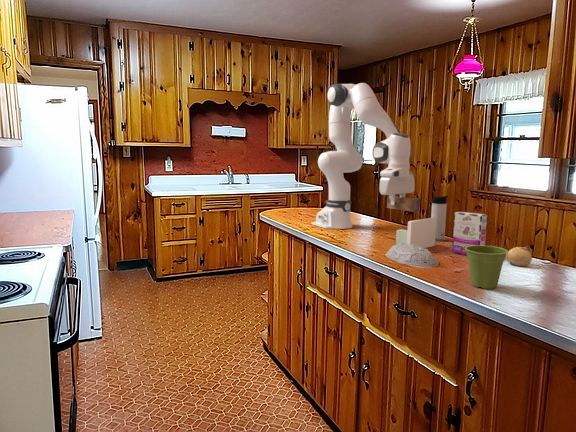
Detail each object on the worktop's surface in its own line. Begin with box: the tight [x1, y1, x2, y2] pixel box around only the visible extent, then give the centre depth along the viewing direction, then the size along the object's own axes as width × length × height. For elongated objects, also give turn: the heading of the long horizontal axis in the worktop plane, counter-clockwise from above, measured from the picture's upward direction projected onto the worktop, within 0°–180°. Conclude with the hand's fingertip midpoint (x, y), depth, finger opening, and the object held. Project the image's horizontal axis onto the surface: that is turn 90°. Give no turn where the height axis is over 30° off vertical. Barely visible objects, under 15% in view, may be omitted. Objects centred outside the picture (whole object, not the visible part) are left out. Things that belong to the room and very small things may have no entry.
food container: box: [385, 243, 440, 269], centre depth 164 cm, size 16×25×7 cm, turn 24°
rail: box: [386, 195, 421, 213], centre depth 187 cm, size 14×4×5 cm, turn 40°
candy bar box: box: [451, 211, 488, 257], centre depth 171 cm, size 11×5×16 cm, turn 40°
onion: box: [505, 246, 533, 267], centre depth 157 cm, size 8×8×7 cm
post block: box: [395, 217, 437, 249], centre depth 184 cm, size 9×18×12 cm, turn 130°
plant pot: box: [465, 245, 509, 290], centre depth 132 cm, size 12×12×11 cm
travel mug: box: [430, 195, 449, 242], centre depth 198 cm, size 6×7×20 cm
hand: (396, 204), depth 190 cm, fingers closed on rail, 4 cm apart
